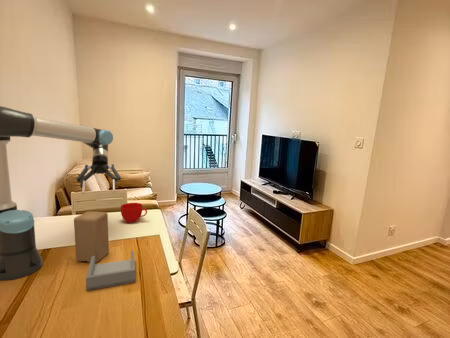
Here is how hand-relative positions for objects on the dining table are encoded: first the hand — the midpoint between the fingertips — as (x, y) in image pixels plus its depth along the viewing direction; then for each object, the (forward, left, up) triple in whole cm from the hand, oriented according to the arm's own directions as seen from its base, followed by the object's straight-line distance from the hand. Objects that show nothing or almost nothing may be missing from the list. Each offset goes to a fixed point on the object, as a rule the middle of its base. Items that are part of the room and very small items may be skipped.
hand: (98, 192), depth 124 cm
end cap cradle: (-2, -34, -26) cm, 43 cm away
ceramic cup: (+23, +20, -26) cm, 40 cm away
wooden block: (-6, -15, -26) cm, 31 cm away
